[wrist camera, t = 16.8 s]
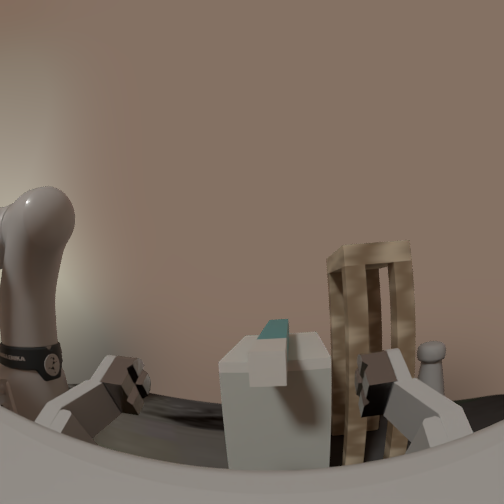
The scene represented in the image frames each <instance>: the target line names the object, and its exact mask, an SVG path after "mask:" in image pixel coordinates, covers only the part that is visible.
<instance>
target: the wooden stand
mask: <svg viewBox="0 0 504 504" xmlns="http://www.w3.org/2000/svg"><path fill="white" fill-rule="evenodd" d="M326 263H327V275H328V291H329V309H330V331H331V370H332V406H331V432H332V436H336V435H344V446H343V461H342V466H344V465H352V464H359V463H363V460H364V451H365V440H366V431H372V430H377V429H378V428H379V416H380V415H377V416H370V417H362V418H361V414H360V409H359V405H358V403H359V398H360V397H359V396H358V395H356V390H355V370H356V369H357V368H358V365H357V357H358V354H362V353H369V352H376V351H382V322H381V298H380V282H379V268H383V267H387V266H388V274H389V289H390V306H391V307H390V309H391V349H394V348H398V349H400V351H401V354H402V356H403V358H404V360H405V363H406V365H407V367H408V370H409V372H410V374H411V377H412V379H413V378H414V373H415V300H414V282H413V269H412V259H411V249H410V242H409V240H404V241H391V242H377V243H364V244H350V245H343V246H341V247H340V248H339V249H338V250H337V251H336V252H334V253H333V254H332V255H331V256H330V257H329V258H327V259H326ZM407 442H408V439H407V438H406V437H405V436H404V435H403V434H402V433H401V432H400V431H399V430H398V429H397V428H396V427H395V426H394V425H393V424H392V423H391V422H390V421H389V420H388V425H387V434H386V443H385V451H384V458H383V459H386V458H391V457H396V456H400V455H404V454H405V453H406V449H407Z"/></svg>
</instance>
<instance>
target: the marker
mask: <svg viewBox="0 0 504 504" xmlns="http://www.w3.org/2000/svg"><path fill="white" fill-rule="evenodd" d="M288 352H289V324H288V319H279V320H270V321H269V322H268V323H267V325H266V326H265V328H264V329H263V331H262V332H261V334H260V335H259V336H258V338H257V339H256V341H255V342H254V344H253V345H252V347H251V348H250V349H249V351H248V352H247V353H248V369H249V384H250V387H272V386H287V372H288Z"/></svg>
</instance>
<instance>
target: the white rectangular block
mask: <svg viewBox="0 0 504 504" xmlns="http://www.w3.org/2000/svg"><path fill="white" fill-rule="evenodd" d="M258 336H259V335H250V336H245V337H244V338H243V339H242V340H241V341H240V342H239V343H238V344H237V345H236V346H235V347H233V348H232V349H231V351H230V352H228V353H227V354H226V355H225V356H224V357H223V358H222V359H221V360H220V361H219V362H218V364H219V376H220V388H221V399H222V410H223V420H224V430H225V439H226V448H227V457H228V465H229V469H236V470H301V469H316V468H327V467H329V461H330V440H331V356H330V354H329V353H328V351H327V349H326V347H325V346H324V344H323V342H322V340H321V339H320V337H319V335H318V333H317V332H305V333H290V334H289V352H288V372H287V386H272V387H250V384H249V369H248V353H247V352H248V351H249V349H250V348H251V347H252V345H253V344H254V342H255V341H256V339H257V338H258Z"/></svg>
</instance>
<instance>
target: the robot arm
mask: <svg viewBox="0 0 504 504" xmlns="http://www.w3.org/2000/svg"><path fill="white" fill-rule="evenodd" d="M74 224H75V214H74V209H73V206H72V204H71V202H70V200H69V198H68V197H67V196H66V195H65V194H64V193H63V192H62V191H61V190H59V189H57V188H54V187H50V186H45V187H40V188H35V189H32V190H29V191H27V192H25V193H24V194H23V195H21V196H20V197H19V198H18V199H17V200H16V201H15V202H14V203H13V204H11V205H9V206H6V207H2V208H0V269H2V277H1V284H0V331H1V341H2V342H1V343H0V504H504V420H502V421H500V422H498V423H495V424H493V425H491V426H489V427H486V428H484V429H482V430H479V431H477V432H474V433H473V432H472V429H471V427H470V425H469V422H468V420H467V418H466V415H465V413H464V411H463V409H462V407H461V406H459V405H457V404H456V403H454V402H453V401H451V400H450V399H448V398H446V397H445V396H443V395H442V394H440V393H439V392H437V391H435V390H434V389H432V388H431V387H429V386H428V385H426V384H425V383H423V382H422V381H420V380H418V379H417V378H413V379H412V377H411V374H410V372H409V370H408V367H407V365H406V363H405V360H404V358H403V356H402V354H401V351H400V349H398V348H394V349H388V350H385V351H384V350H382V351H376V352H369V353H362V354H358V357H357V365H358V368H357V369H356V370H355V390H356V395H358V396H359V397H360V398H359V403H358V405H359V409H360V414H361V418H362V417H370V416H377V415H384V417H386V418H387V419H388V420H389V421H390V422H391V423H392V424H393V425H394V426H395V427H396V428H397V429H398V430H399V431H400V432H401V433H402V434H403V435H404V436H405V437H406V438H407V439H408V440H409V441H410V442H411V444H410V446H409V448H408V449H407V451H406V453H405V454H404V455H400V456H396V457H391V458H386V459H381V460H376V461H371V462H365V463H359V464H352V465H344V466H336V467H327V468H316V469H301V470H236V469H221V468H210V467H201V466H192V465H185V464H178V463H172V462H166V461H160V460H155V459H150V458H145V457H140V456H136V455H131V454H127V453H123V452H119V451H115V450H112V449H108V448H105V447H101V446H98V445H97V443H96V442H95V441H94V440H93V439H92V438H93V437H94V436H95V435H97V434H98V433H99V432H100V431H101V430H103V429H104V428H105V427H106V426H107V425H109V424H110V423H111V422H112V421H113V420H115V419H116V418H117V417H118V416H119V415H120V414H121V413H127V414H133V415H139V414H140V412H141V410H142V407H143V405H144V401H143V398H145V397H146V396H148V394H149V391H150V386H151V381H150V377H149V375H148V373H147V372H145V371H144V370H143V367H144V364H143V362H142V360H141V359H139V358H131V357H122V356H113V355H107V356H106V357H105V358H104V360H103V361H102V363H101V364H100V365H99V367H98V368H97V370H96V372H95V373H94V375H93V376H92V378H91V379H90V380H86V381H84V382H82V383H81V384H79V385H77V386H75V387H74V388H72V389H70V390H69V388H68V384H67V381H66V377H65V374H64V370H63V369H62V354H61V353H62V351H61V347H60V343H59V342H58V340H57V330H56V315H55V292H56V285H57V278H58V273H59V268H60V264H61V259H62V254H63V251H64V248H65V246H66V243H67V242H68V240H69V238H70V236H71V235H72V232H73V229H74Z"/></svg>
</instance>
